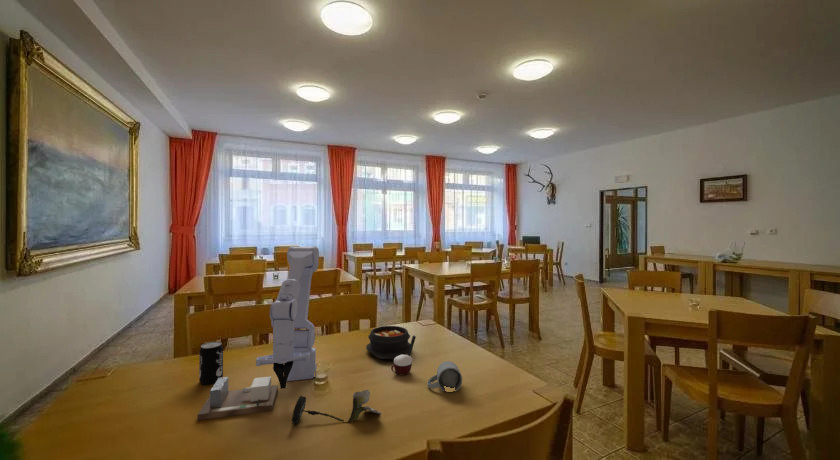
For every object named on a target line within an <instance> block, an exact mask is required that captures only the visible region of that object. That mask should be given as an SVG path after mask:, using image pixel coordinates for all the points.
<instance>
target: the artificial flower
mask: <svg viewBox="0 0 840 460" xmlns="http://www.w3.org/2000/svg"><path fill="white" fill-rule="evenodd" d="M370 396H371V392H370V390H369V389H365V390H361V391H354V392H353V395H352V409H351V413H350V416H349V419H348V420H347V421H351V422H352V420H353V421H354V420H357V419H358V418H359V416H360V414H361V413H362V412H364V411H365V412H367V411H369V412H371V413H375V414H378V415H382V412H381V411H378V410H377V409H375V408H372V407H370V406H368V405H365V404H367V403H368V402H369V401H370V399H371V397H370ZM306 402H307V397H306V396H303V395H300V396H299V397H298V399H297V401H296V403H295V406H294V408H293V412H292V418H291V422H292V423H291V425H299V422H300V420H301V418H302V416H303V413H307V414H308V415H311V416H316V415H321V416H324V417H329V418H332V419H334V420H336V421H338V422H341V421H344V420H345V419H341V418H339V417H336V416H334V415H332V414H328V413H322V412H320V411H316V410H305V408H306ZM363 405H365V406H363Z"/></svg>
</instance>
